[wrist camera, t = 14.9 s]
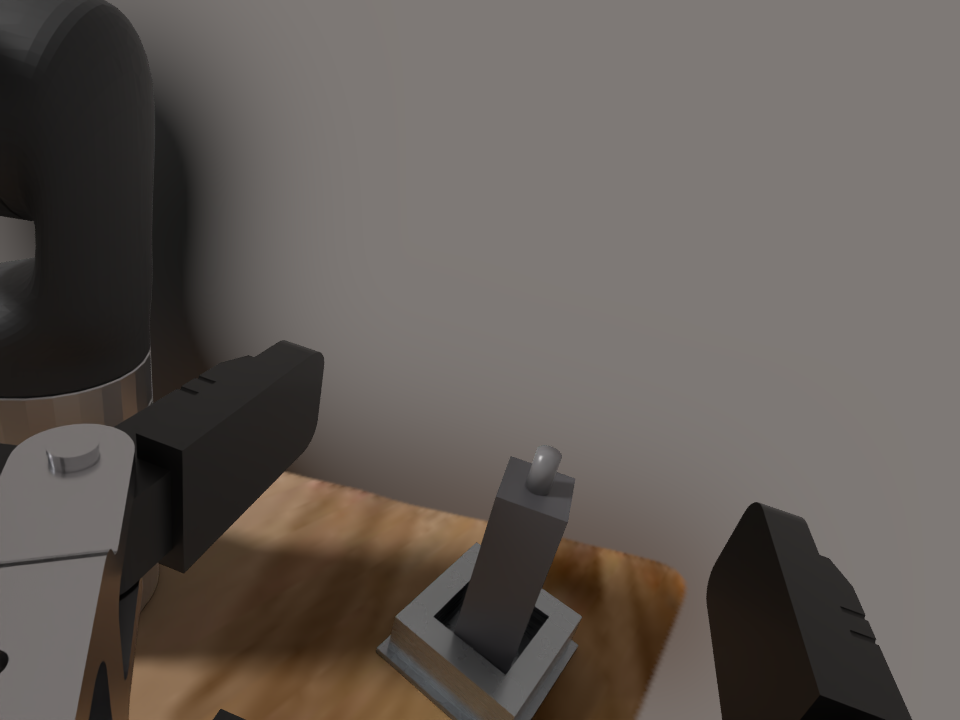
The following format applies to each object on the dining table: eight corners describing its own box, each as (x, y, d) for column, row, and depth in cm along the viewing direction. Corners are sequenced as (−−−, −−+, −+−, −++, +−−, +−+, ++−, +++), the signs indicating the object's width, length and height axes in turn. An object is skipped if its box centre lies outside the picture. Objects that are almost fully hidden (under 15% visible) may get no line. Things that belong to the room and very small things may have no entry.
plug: (444, 661, 37) (506, 461, 29) (461, 612, 40) (521, 423, 33) (503, 685, 36) (581, 487, 29) (515, 633, 40) (587, 445, 32)
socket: (375, 651, 37) (383, 616, 35) (465, 566, 45) (475, 535, 43) (502, 764, 32) (517, 729, 31) (576, 648, 40) (591, 616, 39)
